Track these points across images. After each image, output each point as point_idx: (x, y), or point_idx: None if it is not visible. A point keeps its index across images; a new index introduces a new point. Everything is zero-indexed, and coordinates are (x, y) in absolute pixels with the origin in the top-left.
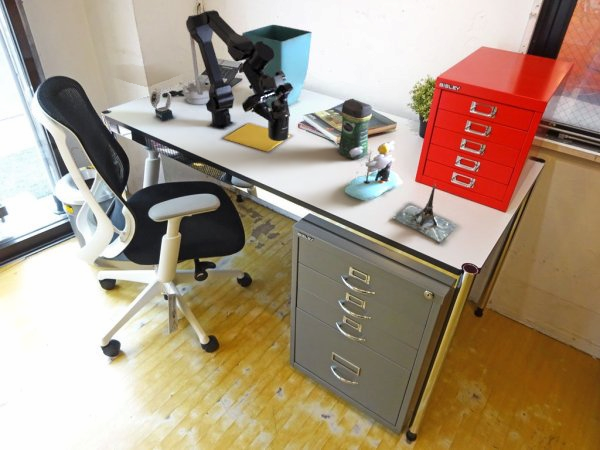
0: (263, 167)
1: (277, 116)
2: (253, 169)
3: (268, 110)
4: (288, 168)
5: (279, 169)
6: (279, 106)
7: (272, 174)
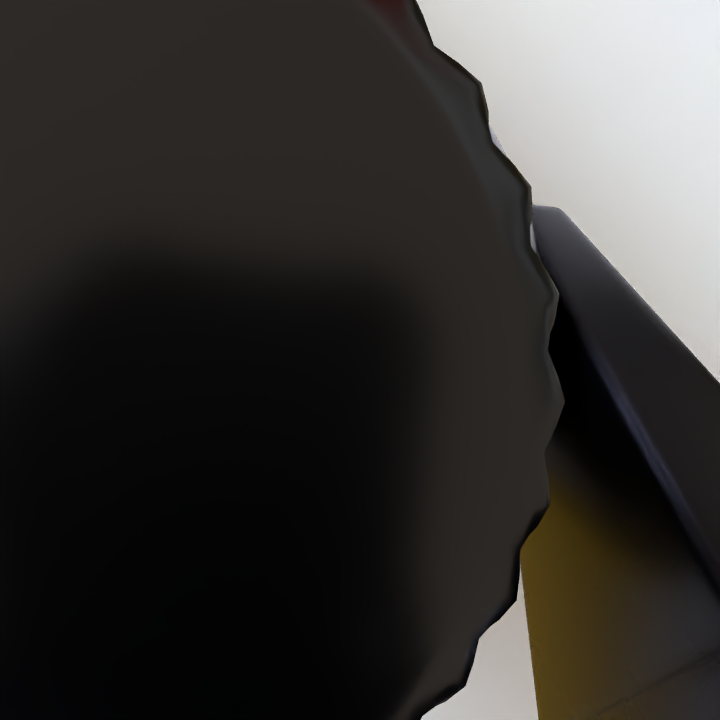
0: (601, 243)
1: (492, 138)
2: (689, 299)
3: (699, 506)
4: (466, 7)
5: (539, 76)
6: (408, 9)
7: (664, 73)
